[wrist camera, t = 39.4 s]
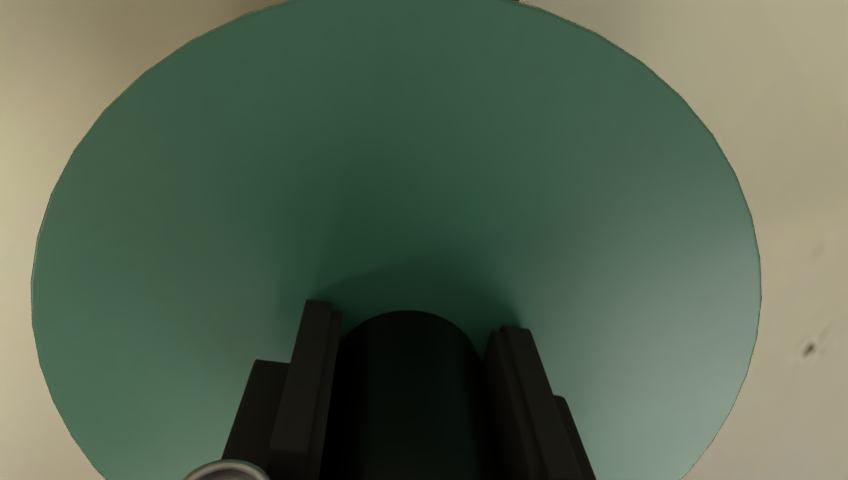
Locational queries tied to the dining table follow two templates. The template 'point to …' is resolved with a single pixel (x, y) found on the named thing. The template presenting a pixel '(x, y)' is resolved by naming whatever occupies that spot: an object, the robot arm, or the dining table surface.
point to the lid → (397, 242)
